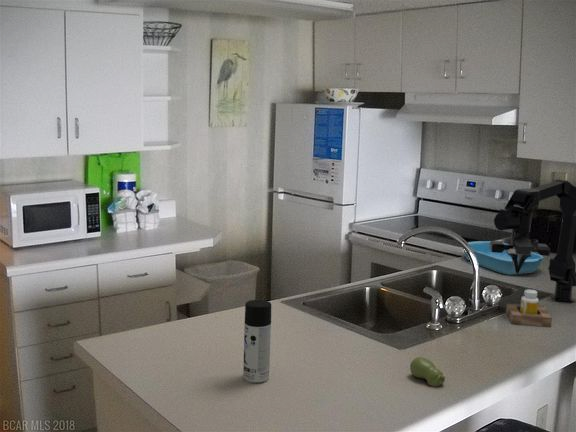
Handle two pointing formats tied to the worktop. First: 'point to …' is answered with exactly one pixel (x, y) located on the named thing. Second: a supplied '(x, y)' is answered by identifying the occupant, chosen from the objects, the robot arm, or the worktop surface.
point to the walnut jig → (528, 316)
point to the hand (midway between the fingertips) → (516, 272)
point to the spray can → (257, 341)
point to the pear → (427, 371)
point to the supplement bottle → (529, 302)
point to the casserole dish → (502, 259)
